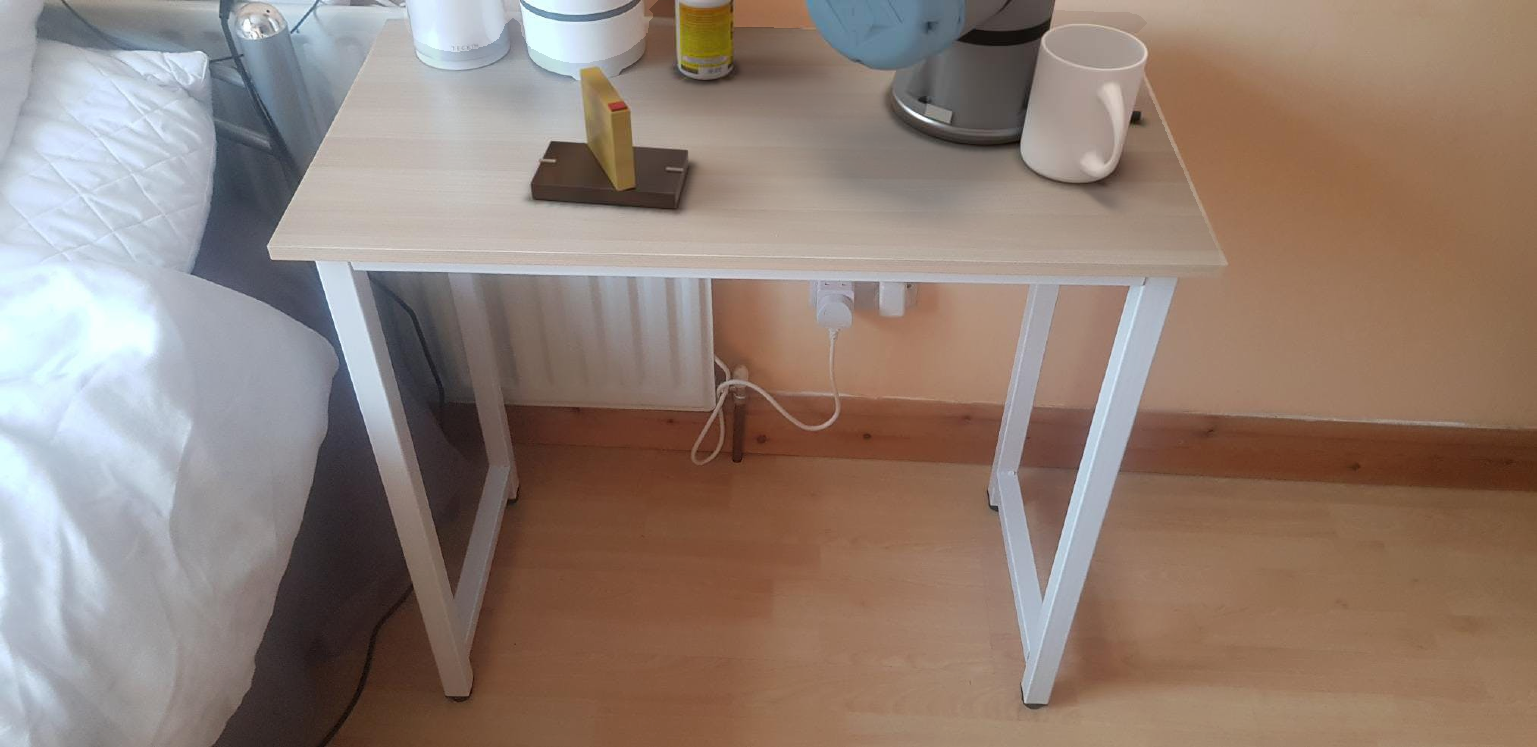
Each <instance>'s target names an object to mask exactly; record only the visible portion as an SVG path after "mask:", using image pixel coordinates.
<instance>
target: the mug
mask: <svg viewBox="0 0 1537 747" xmlns="http://www.w3.org/2000/svg"><path fill="white" fill-rule="evenodd" d="M1148 57H1149V52H1148V49H1147V47H1146V45H1145V44H1144V43H1143V42H1142V41H1141V40H1140V39H1139V38H1137V37H1135V36H1134V35H1132V34H1131V33H1128V32H1126V31H1123V30H1122V29H1121V30H1120V29H1117V28H1114V27H1111V26H1106V25H1100V24H1092V23H1070V24H1063V25H1059V26H1056V27H1052V28H1050V30H1049V31H1047V32H1046V33H1045V34H1044V35H1043V37H1042V39H1041V43H1040V48H1039V53H1038V58H1037V63H1036V68H1035V73H1034V78H1033V83H1032V88H1031V93H1030V98H1029V103H1028V108H1027V113H1026V118H1025V123H1024V128H1023V133H1022V138H1021V140H1020V154H1021V157H1022V159H1023V162H1024V163H1025V164H1026V165H1027V166H1028V168H1030V169H1031V170H1032V171H1033V172H1035V173H1037V174H1038V175H1041V176H1042V177H1045V178H1047V179H1050V180H1054V181H1058V182H1063V183H1070V184H1086V183H1087V184H1088V183H1093V182H1096V181H1100V180H1102V179H1104V178H1107V177H1108V176H1109V175H1110V174H1112V173H1113V172H1114V171H1115V169H1116V167H1117V166H1118V163H1119V162H1120V159H1121V155H1122V152H1123V149H1124V148H1123V147H1124V145H1125V141H1126V137H1127V134H1128V130H1129V126H1130V122H1131V120H1130V119H1131V116H1132V112H1133V111H1134V109H1135V104H1136V101H1137V98H1138V97H1137V96H1138V94H1139V90H1140V86H1141V83H1142V78H1143V75H1144V71H1145V68H1146V64H1147V61H1148Z"/></svg>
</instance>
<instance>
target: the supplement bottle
mask: <svg viewBox="0 0 1537 747" xmlns="http://www.w3.org/2000/svg"><path fill="white" fill-rule="evenodd" d="M674 14H675V18H674V19H675V44H676V46H675V48H676V64H677V68H678V70H679V71H680V72H681V73H682V75H684V76H686V77H688V78H691V79H694V80H701V81H702V80H703V81H707V80H716V79H720V78H722V77H725V76H726V75H728V74H730V72H731V71H732V69H733V67H734V0H674Z"/></svg>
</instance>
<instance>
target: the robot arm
mask: <svg viewBox="0 0 1537 747" xmlns="http://www.w3.org/2000/svg"><path fill="white" fill-rule="evenodd" d="M1056 1H1057V0H804V3H805V6H806V9H807V12H808V14H809V17H810V19H811V21H812V23H813V24H814V26H815V28H816V29H817V31H818V32H819V34H820V35H821V37H823V39H824V40H825V41H826V42H827V44H829V46H831V47H832V48H833V49H834V50H835V51H836V52H837V53H839V54H840V55H841V56H843V57H844V58H845V59H847V60H848V61H850V62H853V63H855V64H860V65H862V66H865V67H867V68H868V69H871V70H876V71H895V72H894V76H893V79H892V83H891V85H892V86H891V93H890V103H891V106H892V109H893V110H894V111H895V113H896V114H897V116H899V118H900V119H902V120H903V122H905V123H907V124H908V125H909V126H911V127H913V128H915V129H916V130H918V131H921V132H922V133H924V134H927V135H930V136H932V137H935V138H939V139H942V140H946V141H949V142H956V143H961V144H971V145H1001V144H1008V143H1014V142H1018V141H1021V138H1022V133H1023V128H1024V123H1025V118H1026V113H1027V108H1028V103H1029V98H1030V93H1031V88H1032V83H1033V78H1034V73H1035V68H1036V63H1037V58H1038V53H1039V48H1040V43H1041V39H1042V37H1043V35H1044V34H1045V33H1046V32H1047V31H1049V30H1051V23H1052V18H1053V14H1054V10H1055V7H1056V6H1055V5H1056ZM1141 117H1142V111H1141V110H1133V112H1132V116H1131V119H1130V121H1140V120H1141Z"/></svg>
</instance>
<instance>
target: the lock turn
mask: <svg viewBox="0 0 1537 747" xmlns="http://www.w3.org/2000/svg"><path fill="white" fill-rule="evenodd" d="M579 78H580V84H581V95H582V105H583V106H582V107H583V115H584V116H583V117H584V124H585V126H584V127H585V134H586V143H587V145H588V146H589V148H590V149H591V151H592V152H593V154H594V155H595V157H596V159H597V160H598V162H599V163H600V165H601V166H602V168H603V169H604V171H605V173H606V174H607V176H608V177H609V179H610V180H611V182H612V183H613V185H614V187H615V188H616V190H617V191H620V190H625V189H629V188H634V187H636V185H635V171H634V157H633V146H634V145H633V131H632V116H631V109H630V108H629V107H628V105H627V104H626V102H625V101H624V99H623V98H622V97H621V96H620V93H618V91H617V90H616V88H615V87H614V86H613V85H612V83H611V82H610V81H609V79H608V78H607V76H606V75H605V74H604V72H603V70H601V68H600V67H599V66H597V65H596V66H592V67H586V68H581V69H579Z"/></svg>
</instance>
